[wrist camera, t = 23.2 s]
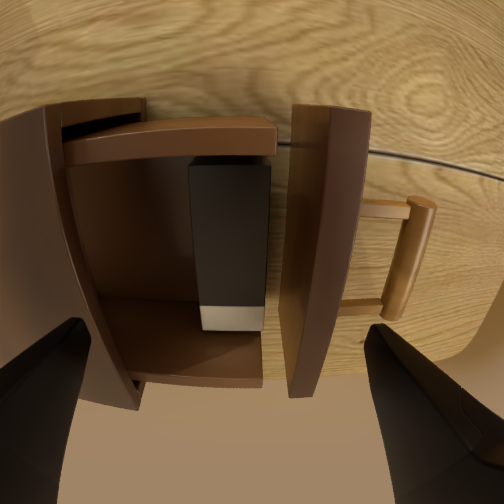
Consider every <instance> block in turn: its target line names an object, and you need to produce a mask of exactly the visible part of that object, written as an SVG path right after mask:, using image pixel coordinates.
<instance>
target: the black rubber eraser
mask: <svg viewBox="0 0 504 504" xmlns="http://www.w3.org/2000/svg"><path fill="white" fill-rule="evenodd" d="M187 167H188V186H189V201H190V215H191V228H192V240H193V251H194V261H195V271H196V280H197V289H198V297H199V305H200V313H201V321H202V329H203V330H216V331H263V328H264V311H265V293H266V274H267V254H268V233H269V210H270V185H271V164H270V161H269V158H268V156H261V155H208V156H196V157H195V158H194V159H193V160H192V161H191V163H190V164H189V165H188V166H187Z"/></svg>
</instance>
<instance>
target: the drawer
mask: <svg viewBox="0 0 504 504" xmlns="http://www.w3.org/2000/svg"><path fill="white" fill-rule="evenodd" d="M371 116H372V113H371V112H370V111H365V110H359V109H353V108H346V107H339V106H329V105H309V104H293V105H292V121H291V143H290V162H289V179H288V195H287V210H286V224H285V238H284V251H283V263H282V274H281V286H280V297H279V307H278V312H279V319H280V327H281V335H282V344H283V352H284V360H285V369H286V377H287V385H288V394H289V398H304V397H312V396H313V394H314V391H315V388H316V385H317V382H318V379H319V376H320V373H321V370H322V367H323V364H324V360H325V357H326V354H327V350H328V347H329V344H330V340H331V337H332V333H333V330H334V326H335V322H336V319H337V317H339V316H358V315H373V314H379V315H380V316H381V317H382V318H383V319H385V320H388V321H397V320H399V319H400V318H401V317H402V314H403V312H404V309H405V307H406V304H407V302H408V299H409V297H410V294H411V291H412V289H413V286H414V283H415V280H416V277H417V275H418V272H419V269H420V266H421V263H422V260H423V256H424V253H425V250H426V247H427V243H428V240H429V236H430V233H431V229H432V225H433V222H434V218H435V214H436V210H437V205H436V204H435V203H434V202H432V201H431V200H428V199H426V198H423V197H419V196H408V198H407V201H406V202H400V201H389V200H377V199H364V198H362V195H363V188H364V181H365V173H366V166H367V157H368V149H369V139H370V128H371ZM277 138H278V128H277V127H276V126H275V125H274V124H272V123H271V122H270V121H269V120H267V119H266V118H265V117H254V116H223V117H194V118H178V119H165V120H155V121H145V122H137V123H129V124H122V125H115V126H109V127H103V128H97V129H91V130H86V131H81V132H76V133H71V134H67V135H62V143H63V152H64V160H65V167H66V174H67V180H68V186H69V192H70V197H71V203H72V208H73V212H74V217H75V221H76V226H77V230H78V234H79V238H80V242H81V246H82V250H83V253H84V257H85V260H86V264H87V267H88V271H89V274H90V277H91V280H92V283H93V287H94V290H95V293H96V296H97V298H98V301H99V304H100V307H101V310H102V312H103V315H104V318H105V320H106V323H107V326H108V328H109V331H110V333H111V336H112V338H113V340H114V343H115V345H116V348H117V350H118V352H119V354H120V357H121V359H122V361H123V363H124V365H125V368H126V370H127V372H128V374H129V376H130V378H131V380H138V381H145V382H153V383H162V384H172V385H184V386H197V387H216V388H217V387H218V388H262V385H263V369H262V349H261V331H216V330H203V329H202V321H201V313H200V305H199V297H198V289H197V280H196V271H195V261H194V251H193V240H192V228H191V215H190V201H189V186H188V167H187V166H188V165H189V164H190V163H191V161H192V160H193V159H194V158H195V157H196V156H208V155H261V156H275V155H276V154H277ZM359 217H373V218H390V219H403V220H402V224H401V229H400V233H399V237H398V241H397V245H396V248H395V252H394V256H393V259H392V263H391V266H390V270H389V273H388V277H387V280H386V283H385V286H384V289H383V293H382V296H381V299H380V298H372V299H349V300H341V299H342V295H343V291H344V287H345V283H346V278H347V274H348V269H349V265H350V260H351V256H352V251H353V246H354V241H355V235H356V230H357V225H358V219H359Z"/></svg>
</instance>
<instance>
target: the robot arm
mask: <svg viewBox="0 0 504 504" xmlns="http://www.w3.org/2000/svg"><path fill="white" fill-rule="evenodd" d="M90 346H91V335H90V333H89V330H88V328H87V326H86V323H85V321H84V320H83V319H82V318H79V317H70V318H69V319H67V320H66V321H65V322H63V323H62V324H60V325H59V326H57V327H56V328H55V329H53V330H52V331H50V332H49V333H48V334H46V335H45V336H43V337H42V338H41V339H39V340H38V341H36V342H35V343H34V344H32V345H31V346H30V347H28V348H27V349H26V350H24V351H23V352H21V353H20V354H19V355H17V356H16V357H15V358H13V359H12V360H11V361H9V362H8V363H7V364H6V365H4V366H3V367H2V368H0V504H57V498H58V490H59V482H60V476H61V470H62V464H63V459H64V454H65V449H66V444H67V439H68V436H69V431H70V427H71V423H72V419H73V415H74V411H75V408H76V404H77V400H78V397H79V393H80V390H81V386H82V383H83V379H84V374H85V369H86V364H87V360H88V355H89V351H90ZM364 353H365V359H366V364H367V371H368V377H369V383H370V389H371V393H372V398H373V401H374V405H375V409H376V413H377V417H378V421H379V425H380V429H381V434H382V438H383V442H384V447H385V451H386V456H387V461H388V466H389V470H390V476H391V481H392V486H393V492H394V497H395V504H504V419H502V418H501V417H499V416H498V415H497V414H495V413H494V412H492V411H491V410H490V409H488V408H487V407H485V406H484V405H483V404H482V403H480V402H479V401H478V400H477V399H475V398H474V397H473V396H472V395H470V394H469V393H468V392H467V391H466V390H465V389H463V388H461V386H460V385H458V384H457V383H456V382H455V381H454V380H453V379H451V378H450V377H449V376H448V375H447V374H446V373H444V372H443V371H442V370H441V369H439V368H438V367H437V366H436V365H435V364H434V363H432V362H431V361H430V360H429V359H428V358H426V357H425V356H424V355H423V354H421V353H420V352H419V351H418V350H417V349H415V348H414V347H413V346H412V345H410V344H409V343H408V342H407V341H406V340H404V339H403V338H402V337H401V336H399V335H398V334H397V333H396V332H394V331H393V330H392V329H391V328H389V327H388V326H387V325H386V324H383V323H381V324H373V325H371V327H370V329H369V332H368V334H367V337H366V339H365V342H364Z"/></svg>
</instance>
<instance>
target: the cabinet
mask: <svg viewBox="0 0 504 504" xmlns="http://www.w3.org/2000/svg"><path fill="white" fill-rule="evenodd" d="M145 121H146V98H140V97H133V98H105V99H90V100H78V101H69V102H60V103H53V104H46V105H42V106H39V107H36V108H34V109H31V110H28V111H25V112H23V113H20V114H18V115H15V116H13V117H10V118H8V119H5V120H3V121H1V122H0V368H2V367H3V366H4V365H6V364H7V363H8V362H9V361H11V360H12V359H13V358H15V357H16V356H17V355H19V354H20V353H21V352H23V351H24V350H26V349H27V348H28V347H30V346H31V345H32V344H34V343H35V342H36V341H38V340H39V339H41V338H42V337H43V336H45V335H46V334H48V333H49V332H50V331H52V330H53V329H55V328H56V327H57V326H59V325H60V324H62V323H63V322H65V321H66V320H67V319H69V318H70V317H79V318H82V319H83V320H84V321H85V323H86V326H87V328H88V330H89V333H90V335H91V346H90V351H89V355H88V360H87V364H86V369H85V374H84V379H83V383H82V386H81V390H80V393H79V397H78V398H79V399H83V400H87V401H92V402H95V403H100V404H104V405H109V406H113V407H119V408H124V409H129V410H135V411H138V410H139V406H140V402H141V398H142V394H143V390H144V387H145V383H146V382H145V381H138V380H131V378H130V376H129V374H128V372H127V370H126V368H125V365H124V363H123V361H122V359H121V357H120V354H119V352H118V350H117V348H116V345H115V343H114V340H113V338H112V336H111V333H110V331H109V328H108V326H107V323H106V320H105V318H104V315H103V312H102V310H101V307H100V304H99V301H98V298H97V296H96V293H95V290H94V287H93V283H92V280H91V277H90V274H89V271H88V267H87V264H86V260H85V257H84V253H83V250H82V246H81V242H80V238H79V234H78V230H77V226H76V221H75V217H74V212H73V208H72V203H71V197H70V192H69V186H68V180H67V174H66V167H65V160H64V152H63V143H62V135H67V134H71V133H76V132H81V131H86V130H91V129H97V128H103V127H109V126H115V125H122V124H129V123H137V122H145Z"/></svg>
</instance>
